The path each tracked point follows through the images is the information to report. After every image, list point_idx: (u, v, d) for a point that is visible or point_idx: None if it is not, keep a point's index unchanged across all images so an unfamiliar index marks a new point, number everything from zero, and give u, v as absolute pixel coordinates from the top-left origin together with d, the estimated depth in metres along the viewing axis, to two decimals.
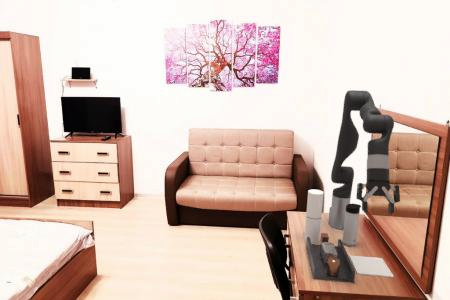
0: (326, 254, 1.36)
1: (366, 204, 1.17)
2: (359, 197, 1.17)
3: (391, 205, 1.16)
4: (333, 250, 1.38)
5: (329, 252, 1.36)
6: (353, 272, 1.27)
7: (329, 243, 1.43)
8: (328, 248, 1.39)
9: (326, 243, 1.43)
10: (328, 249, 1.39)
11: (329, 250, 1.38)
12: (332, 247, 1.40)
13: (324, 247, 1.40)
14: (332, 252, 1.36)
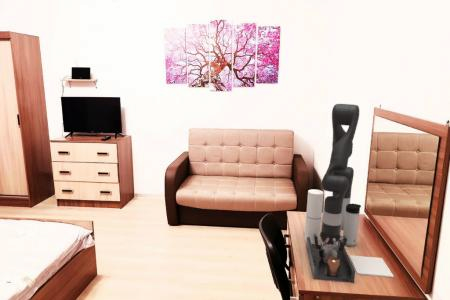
0: (326, 254, 1.36)
1: (322, 252, 1.40)
2: (316, 247, 1.39)
3: None
4: (333, 250, 1.38)
5: (329, 252, 1.36)
6: (353, 272, 1.27)
7: None
8: (328, 248, 1.39)
9: None
10: (328, 249, 1.39)
11: (329, 250, 1.38)
12: (332, 247, 1.40)
13: (324, 247, 1.40)
14: (332, 252, 1.36)
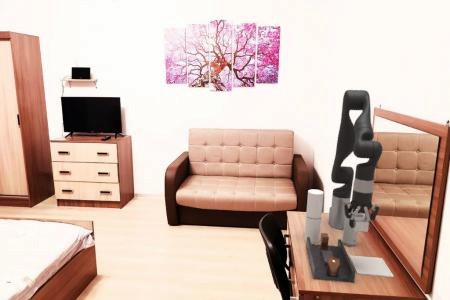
0: (357, 223, 1.31)
1: (352, 222, 1.35)
2: (347, 216, 1.35)
3: None
4: (364, 219, 1.34)
5: (360, 221, 1.32)
6: (353, 272, 1.27)
7: (359, 213, 1.38)
8: (359, 217, 1.35)
9: None
10: (359, 218, 1.34)
11: (360, 219, 1.33)
12: (363, 217, 1.36)
13: None
14: (363, 221, 1.31)
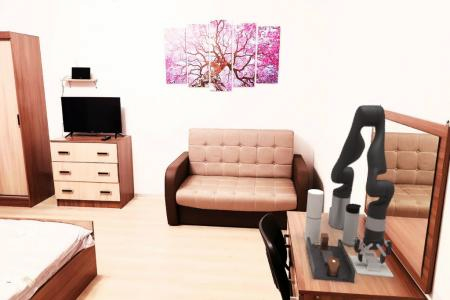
0: (369, 263, 1.34)
1: (361, 256, 1.38)
2: (356, 251, 1.37)
3: (382, 257, 1.37)
4: (375, 258, 1.37)
5: (372, 261, 1.35)
6: (353, 272, 1.27)
7: (370, 251, 1.41)
8: (371, 257, 1.38)
9: (367, 251, 1.41)
10: (371, 258, 1.37)
11: (372, 259, 1.36)
12: (374, 256, 1.39)
13: (366, 256, 1.39)
14: (375, 261, 1.34)
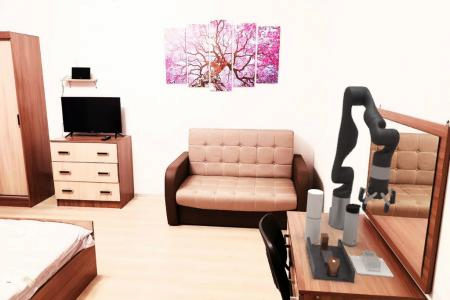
0: (369, 263, 1.34)
1: (365, 205, 1.39)
2: (360, 200, 1.39)
3: (386, 206, 1.38)
4: (375, 258, 1.37)
5: (372, 261, 1.35)
6: (353, 272, 1.27)
7: (370, 251, 1.41)
8: (371, 257, 1.38)
9: (367, 251, 1.41)
10: (371, 258, 1.37)
11: (372, 259, 1.36)
12: (374, 256, 1.39)
13: (366, 256, 1.39)
14: (375, 261, 1.34)
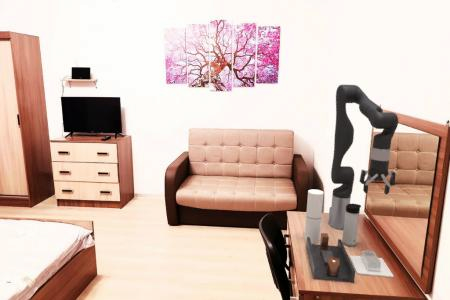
0: (369, 263, 1.34)
1: (367, 187, 1.45)
2: (362, 182, 1.45)
3: (387, 188, 1.44)
4: (375, 258, 1.37)
5: (372, 261, 1.35)
6: (353, 272, 1.27)
7: (370, 251, 1.41)
8: (371, 257, 1.38)
9: (367, 251, 1.41)
10: (371, 258, 1.37)
11: (372, 259, 1.36)
12: (374, 256, 1.39)
13: (366, 256, 1.39)
14: (375, 261, 1.34)
